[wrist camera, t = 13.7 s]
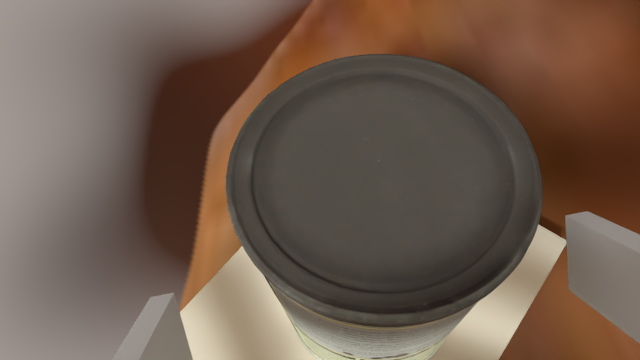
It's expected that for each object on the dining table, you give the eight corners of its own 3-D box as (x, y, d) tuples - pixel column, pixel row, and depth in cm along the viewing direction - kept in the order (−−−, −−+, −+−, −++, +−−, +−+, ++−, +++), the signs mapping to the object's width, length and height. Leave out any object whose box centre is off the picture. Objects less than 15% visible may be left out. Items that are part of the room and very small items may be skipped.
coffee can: (252, 277, 28) (170, 148, 15) (376, 185, 30) (389, 14, 18) (358, 426, 23) (361, 409, 11) (494, 302, 26) (616, 179, 14)
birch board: (359, 132, 35) (360, 120, 33) (558, 250, 29) (567, 241, 27) (166, 341, 27) (157, 336, 26) (378, 556, 21) (379, 563, 20)
